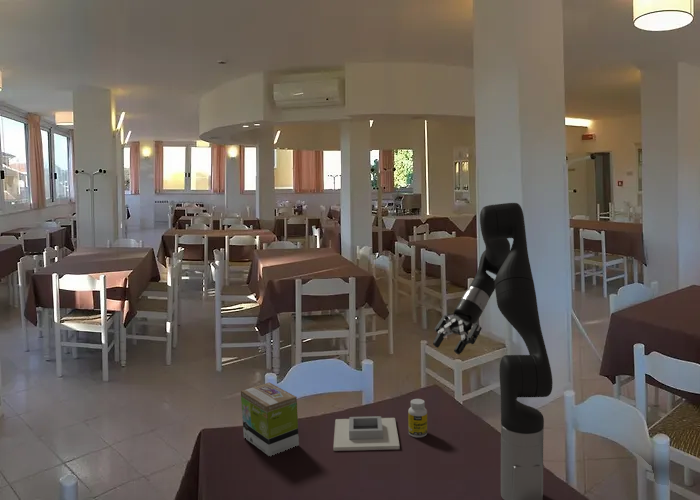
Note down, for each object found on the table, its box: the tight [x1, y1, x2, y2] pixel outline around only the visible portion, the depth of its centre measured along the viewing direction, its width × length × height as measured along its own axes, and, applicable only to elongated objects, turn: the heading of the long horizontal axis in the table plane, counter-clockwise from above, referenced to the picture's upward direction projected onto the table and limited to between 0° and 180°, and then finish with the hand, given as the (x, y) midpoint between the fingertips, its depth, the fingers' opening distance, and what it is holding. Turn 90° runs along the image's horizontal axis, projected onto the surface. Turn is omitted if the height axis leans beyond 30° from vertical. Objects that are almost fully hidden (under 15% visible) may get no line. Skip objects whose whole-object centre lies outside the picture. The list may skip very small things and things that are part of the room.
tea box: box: [240, 382, 300, 457], centre depth 158 cm, size 15×10×15 cm, turn 39°
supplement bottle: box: [407, 398, 428, 438], centre depth 160 cm, size 5×5×10 cm
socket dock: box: [333, 415, 401, 452], centre depth 161 cm, size 18×18×4 cm
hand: (445, 349), depth 165 cm, fingers open, 8 cm apart
